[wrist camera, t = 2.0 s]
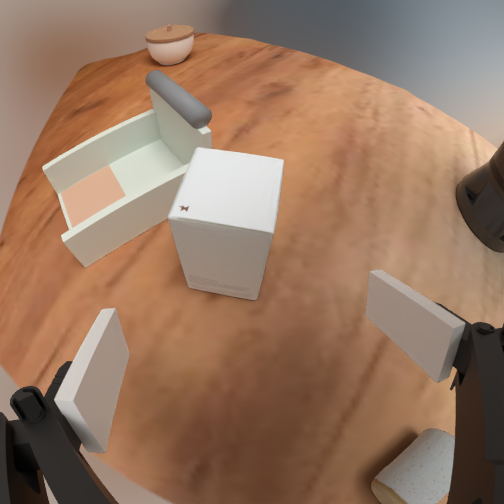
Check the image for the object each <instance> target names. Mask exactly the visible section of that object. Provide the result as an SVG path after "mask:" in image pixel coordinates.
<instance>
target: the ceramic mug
mask: <svg viewBox="0 0 504 504" xmlns="http://www.w3.org/2000/svg"><path fill="white" fill-rule="evenodd" d="M454 445H455V437H454V436H452V435H450V434H449V433H447V432H445V431H442V430H439V429H434V428H430V429H427V430H425V431H423V432H422V433H421V434H420V435H419V436H418V437H417V438H416V439H415V440H414V441H413V442H412V443H411V444H410V445H409V446H408V447H407V448H406V449H405V450H404V451H403V452H402V453H401V454H400V455H399V456H398V457H397V458H396V459H394V460H393V461H392V462H391V463H390V464H389V465H387V466H386V467H385V468H384V469H383V470H382V471H380V473H379V474H378V475H377V476H376V477H375V478H374V479H373V481H372V483H371V490H372V492H373V494H374V495H375V497H376V498H377V499H378V500H379V502H380V503H381V504H436V503H437V502H439V501H440V500H441V499H442V498H443V497H444V496H445V495H446V494H447V493H448V492H449V490H450V483H451V476H452V467H453V458H454Z"/></svg>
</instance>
